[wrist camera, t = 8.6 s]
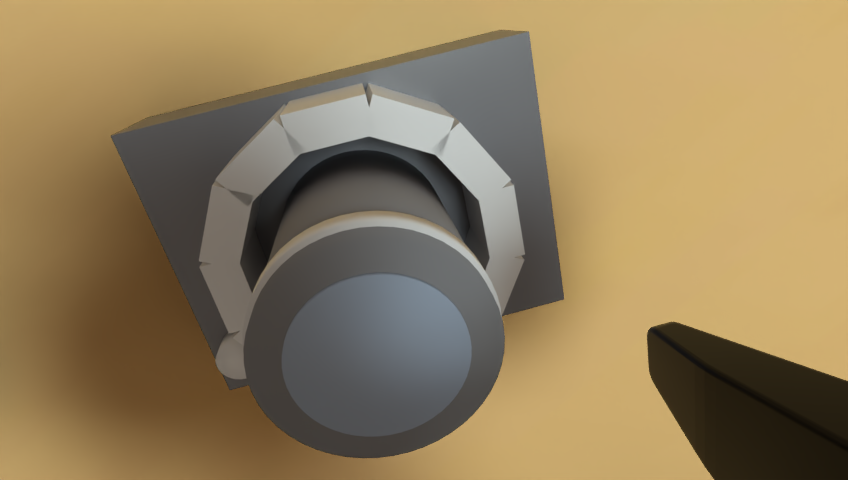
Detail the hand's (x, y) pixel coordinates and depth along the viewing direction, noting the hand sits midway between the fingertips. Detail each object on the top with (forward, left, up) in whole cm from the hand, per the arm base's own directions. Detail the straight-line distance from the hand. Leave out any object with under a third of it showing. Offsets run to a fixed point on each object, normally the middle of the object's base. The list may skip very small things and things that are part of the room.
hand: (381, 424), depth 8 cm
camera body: (0, 0, -12) cm, 12 cm away
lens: (0, 0, -9) cm, 9 cm away
